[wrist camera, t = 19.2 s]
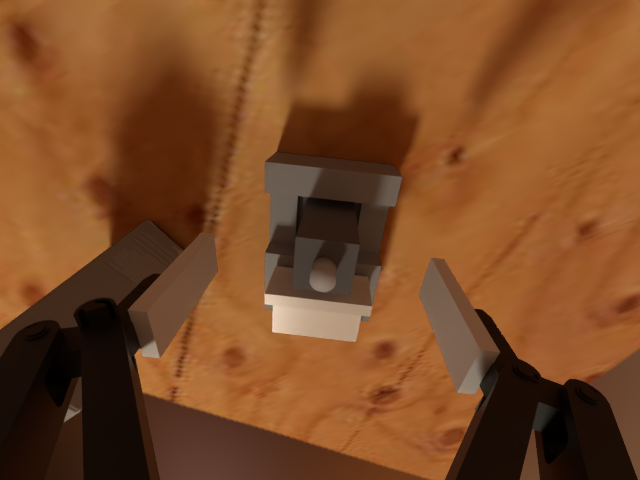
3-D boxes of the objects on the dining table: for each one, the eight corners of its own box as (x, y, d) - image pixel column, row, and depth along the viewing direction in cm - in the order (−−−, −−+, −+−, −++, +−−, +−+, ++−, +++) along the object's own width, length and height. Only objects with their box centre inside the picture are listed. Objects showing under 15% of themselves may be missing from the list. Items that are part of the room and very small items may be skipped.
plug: (308, 195, 24) (291, 248, 16) (354, 201, 24) (361, 257, 16) (305, 236, 26) (288, 302, 18) (347, 241, 26) (350, 310, 18)
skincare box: (149, 216, 27) (-52, 341, 13) (204, 265, 30) (82, 416, 16) (105, 259, 30) (-99, 401, 16) (158, 301, 33) (20, 457, 18)
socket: (276, 151, 24) (265, 161, 20) (393, 164, 24) (402, 176, 20) (273, 284, 30) (264, 309, 27) (365, 294, 30) (368, 321, 26)
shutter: (275, 265, 24) (264, 293, 21) (367, 276, 24) (372, 306, 20) (274, 325, 27) (264, 358, 24) (355, 335, 27) (357, 369, 24)
